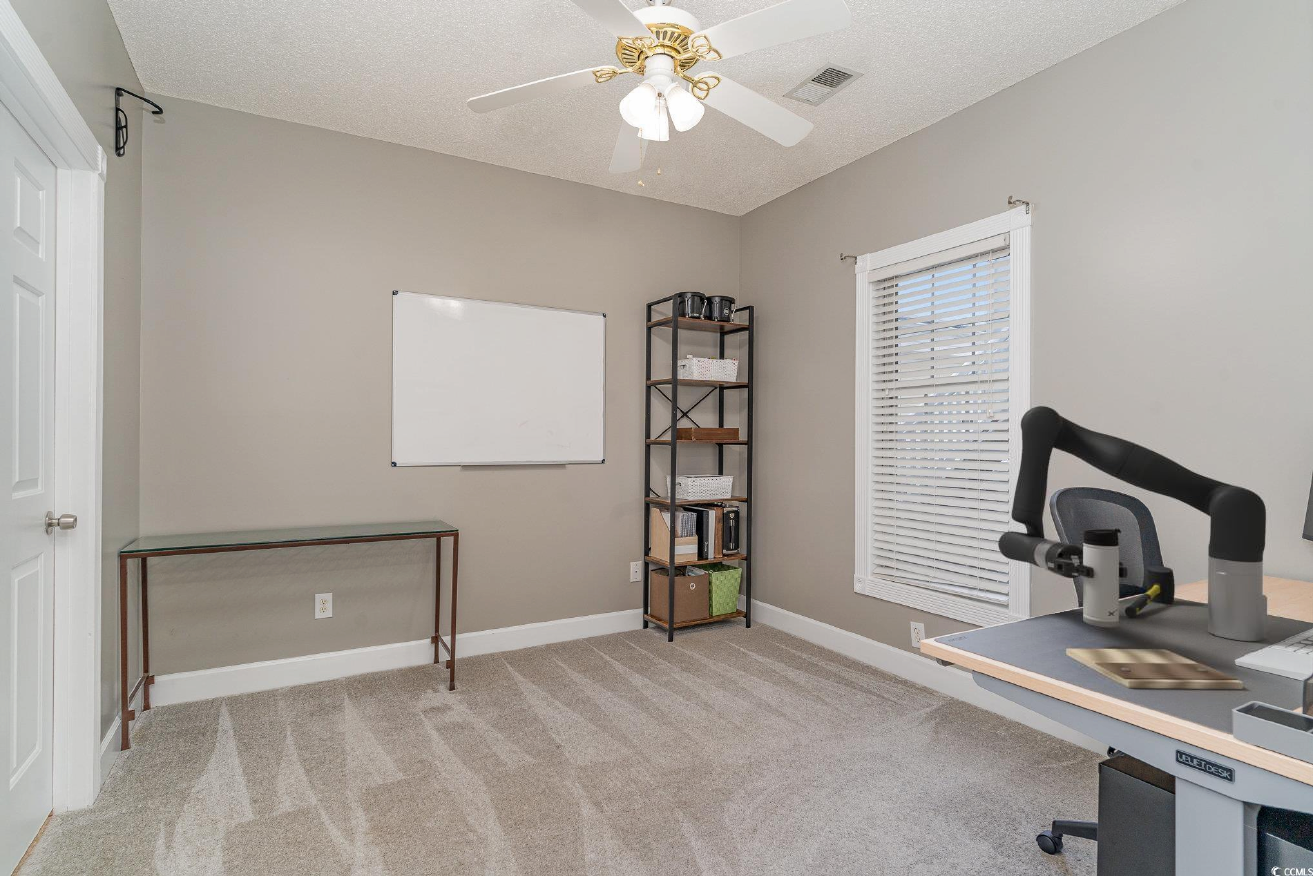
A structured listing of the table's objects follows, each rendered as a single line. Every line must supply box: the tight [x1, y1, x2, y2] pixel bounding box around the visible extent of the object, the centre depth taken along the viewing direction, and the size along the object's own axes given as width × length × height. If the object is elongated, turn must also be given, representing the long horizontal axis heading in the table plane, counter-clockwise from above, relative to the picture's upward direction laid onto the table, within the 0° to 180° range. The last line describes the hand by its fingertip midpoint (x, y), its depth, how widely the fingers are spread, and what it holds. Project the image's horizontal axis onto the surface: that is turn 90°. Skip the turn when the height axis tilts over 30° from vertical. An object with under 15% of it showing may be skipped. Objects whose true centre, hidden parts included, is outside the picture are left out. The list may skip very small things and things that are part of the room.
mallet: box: [1124, 565, 1176, 619], centre depth 173 cm, size 29×6×10 cm, turn 130°
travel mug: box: [1082, 528, 1122, 628], centre depth 140 cm, size 6×7×20 cm
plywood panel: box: [1065, 648, 1244, 690], centre depth 126 cm, size 20×18×2 cm
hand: (1108, 573), depth 138 cm, fingers closed on travel mug, 6 cm apart
